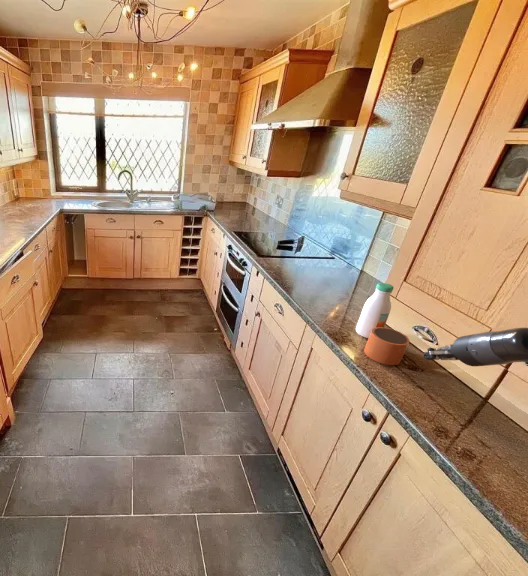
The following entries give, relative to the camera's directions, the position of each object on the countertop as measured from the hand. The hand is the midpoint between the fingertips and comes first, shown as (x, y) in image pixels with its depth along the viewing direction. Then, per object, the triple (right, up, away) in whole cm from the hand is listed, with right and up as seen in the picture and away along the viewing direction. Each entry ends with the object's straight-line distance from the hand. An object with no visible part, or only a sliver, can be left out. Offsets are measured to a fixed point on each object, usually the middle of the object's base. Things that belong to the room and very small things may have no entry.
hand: (426, 356), depth 89 cm
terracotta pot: (-2, -3, +14) cm, 14 cm away
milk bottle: (+1, +3, +25) cm, 25 cm away
